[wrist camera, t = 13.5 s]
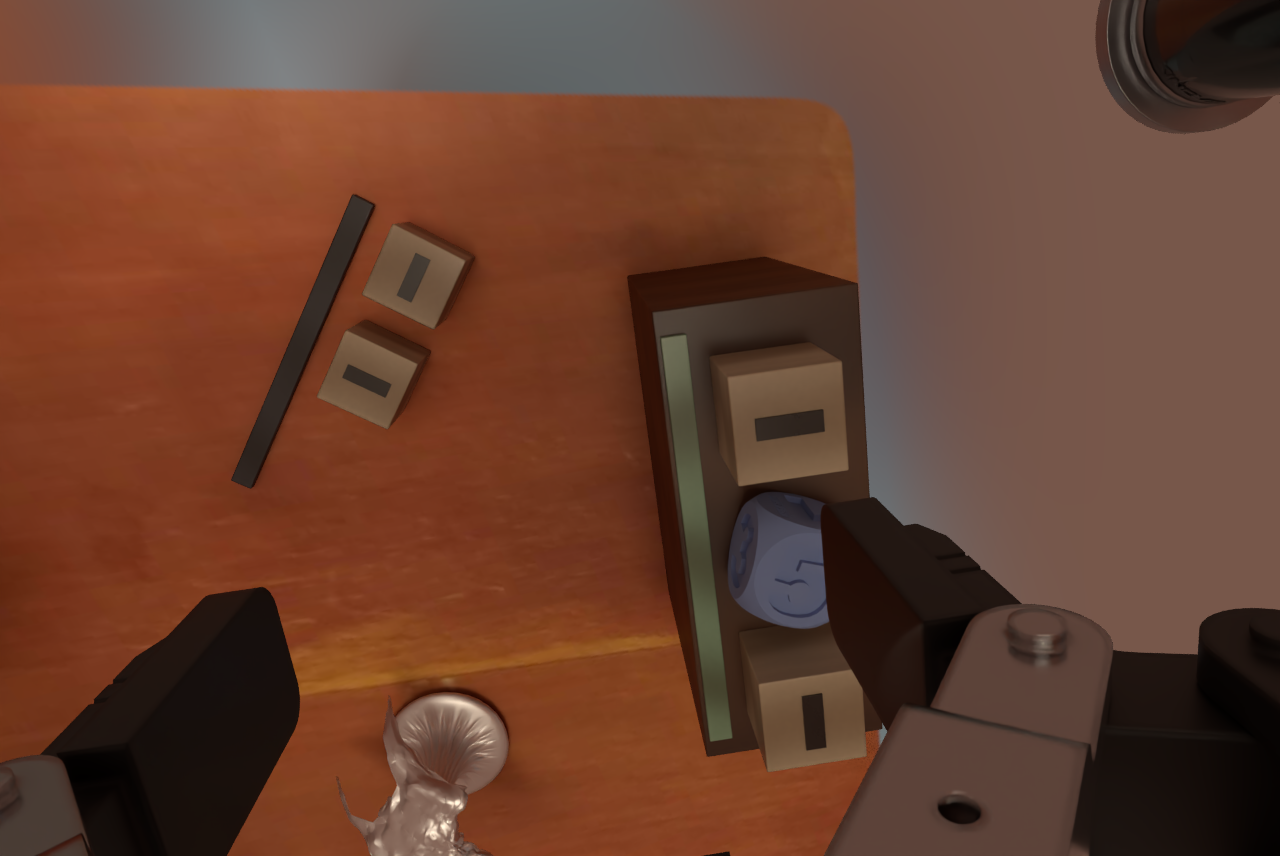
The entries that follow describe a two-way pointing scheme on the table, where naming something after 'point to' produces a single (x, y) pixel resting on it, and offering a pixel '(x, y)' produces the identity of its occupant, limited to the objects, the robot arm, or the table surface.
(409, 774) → the figurine
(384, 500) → the table surface
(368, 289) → the beige cubes with bar
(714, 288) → the dark brown block
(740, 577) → the decorative dice
